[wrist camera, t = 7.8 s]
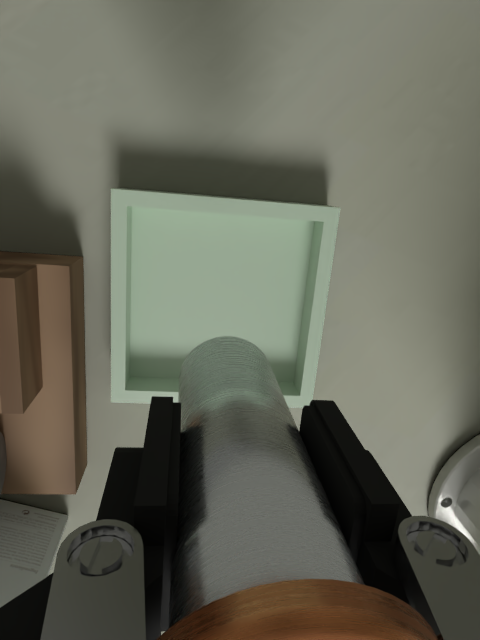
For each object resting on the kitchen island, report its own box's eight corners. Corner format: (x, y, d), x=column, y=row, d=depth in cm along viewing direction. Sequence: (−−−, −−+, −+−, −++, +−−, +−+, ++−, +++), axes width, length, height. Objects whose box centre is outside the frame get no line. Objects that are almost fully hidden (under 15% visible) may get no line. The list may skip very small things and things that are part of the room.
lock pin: (295, 322, 15) (555, 676, 4) (281, 436, 16) (454, 920, 6) (163, 315, 14) (95, 704, 4) (159, 434, 16) (100, 969, 5)
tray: (327, 205, 26) (340, 207, 24) (301, 389, 30) (311, 408, 27) (118, 187, 25) (110, 188, 22) (118, 383, 28) (111, 402, 26)
